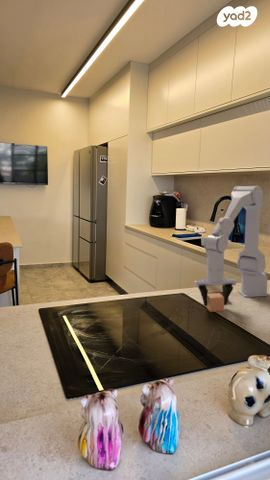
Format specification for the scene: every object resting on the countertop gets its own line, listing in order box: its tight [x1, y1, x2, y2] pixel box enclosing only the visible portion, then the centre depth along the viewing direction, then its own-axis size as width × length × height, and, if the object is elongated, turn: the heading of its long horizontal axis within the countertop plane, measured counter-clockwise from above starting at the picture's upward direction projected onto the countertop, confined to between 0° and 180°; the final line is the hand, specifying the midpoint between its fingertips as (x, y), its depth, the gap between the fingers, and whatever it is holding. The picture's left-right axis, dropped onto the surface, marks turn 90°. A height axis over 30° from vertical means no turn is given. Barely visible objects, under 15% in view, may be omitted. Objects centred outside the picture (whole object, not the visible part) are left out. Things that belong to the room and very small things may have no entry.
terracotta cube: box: [205, 293, 225, 313], centre depth 119 cm, size 5×5×5 cm
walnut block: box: [200, 285, 228, 302], centre depth 130 cm, size 8×8×4 cm
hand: (214, 304), depth 119 cm, fingers open, 6 cm apart
